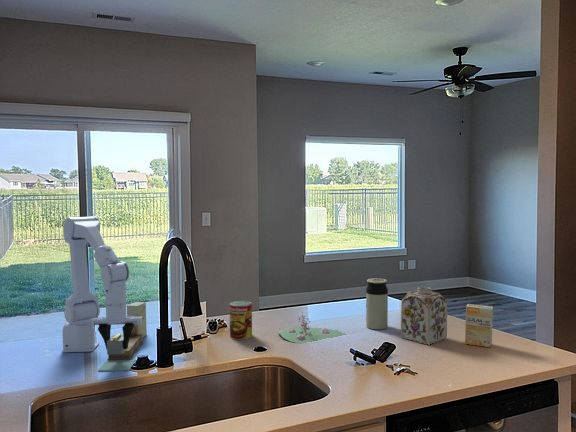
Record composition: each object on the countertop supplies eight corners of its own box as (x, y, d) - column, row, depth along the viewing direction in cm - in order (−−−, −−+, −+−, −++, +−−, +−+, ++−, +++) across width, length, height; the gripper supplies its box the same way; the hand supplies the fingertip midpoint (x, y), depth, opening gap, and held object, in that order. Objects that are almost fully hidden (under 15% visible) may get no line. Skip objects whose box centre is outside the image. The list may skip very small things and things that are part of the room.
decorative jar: (428, 346, 164) (429, 292, 163) (399, 338, 173) (400, 287, 172) (448, 338, 172) (448, 287, 171) (419, 331, 181) (419, 282, 180)
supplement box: (464, 344, 165) (465, 306, 164) (466, 340, 170) (467, 303, 169) (491, 348, 161) (491, 308, 161) (492, 344, 166) (493, 305, 165)
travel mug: (390, 326, 188) (390, 279, 187) (382, 331, 181) (383, 282, 180) (371, 323, 192) (371, 277, 191) (362, 328, 185) (362, 280, 184)
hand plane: (130, 360, 153) (129, 337, 152) (107, 360, 152) (106, 338, 152) (143, 342, 170) (142, 322, 170) (122, 342, 170) (122, 322, 169)
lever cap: (107, 354, 145) (106, 338, 145) (113, 348, 151) (112, 332, 151) (122, 354, 145) (122, 337, 145) (128, 347, 151) (127, 332, 151)
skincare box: (138, 340, 172) (137, 306, 172) (126, 339, 173) (126, 305, 173) (147, 335, 179) (146, 301, 178) (135, 334, 180) (135, 301, 179)
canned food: (225, 338, 174) (225, 304, 173) (236, 332, 181) (236, 299, 181) (245, 340, 171) (245, 306, 171) (255, 334, 179) (255, 301, 178)
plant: (338, 326, 190) (338, 302, 190) (355, 342, 170) (355, 316, 170) (274, 329, 186) (274, 306, 185) (284, 347, 166) (283, 320, 165)
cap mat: (98, 371, 143) (98, 370, 143) (106, 361, 151) (106, 360, 151) (129, 370, 144) (129, 369, 144) (136, 360, 152) (136, 359, 152)
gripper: (86, 307, 142) (87, 353, 143) (137, 306, 143) (138, 352, 144) (94, 301, 149) (95, 345, 150) (143, 300, 150) (144, 344, 151)
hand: (117, 348), depth 147 cm, fingers closed on lever cap, 4 cm apart
